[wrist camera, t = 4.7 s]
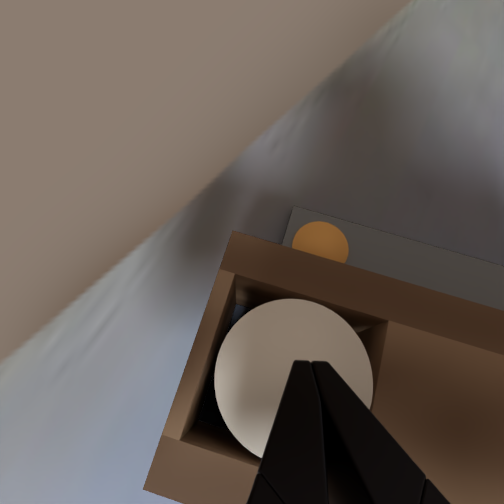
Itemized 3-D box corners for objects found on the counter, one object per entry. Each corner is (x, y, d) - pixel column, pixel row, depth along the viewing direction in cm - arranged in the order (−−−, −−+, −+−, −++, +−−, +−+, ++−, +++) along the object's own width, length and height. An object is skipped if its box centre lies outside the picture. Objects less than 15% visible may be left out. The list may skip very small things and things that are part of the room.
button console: (642, 611, 16) (866, 742, 10) (174, 452, 17) (142, 489, 12) (636, 394, 19) (809, 401, 13) (234, 272, 20) (232, 230, 14)
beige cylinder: (314, 450, 17) (354, 490, 11) (208, 415, 17) (191, 435, 11) (339, 341, 18) (386, 324, 12) (241, 311, 19) (241, 280, 13)
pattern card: (595, 371, 19) (607, 371, 18) (273, 274, 20) (274, 271, 19) (596, 297, 20) (607, 294, 20) (292, 209, 21) (294, 204, 21)
